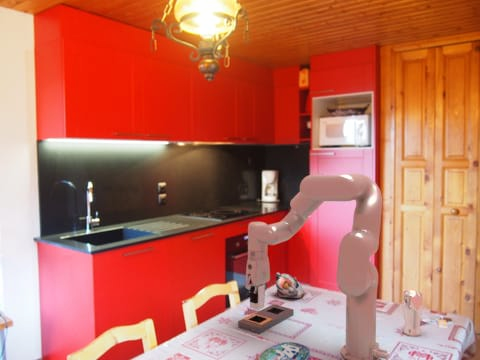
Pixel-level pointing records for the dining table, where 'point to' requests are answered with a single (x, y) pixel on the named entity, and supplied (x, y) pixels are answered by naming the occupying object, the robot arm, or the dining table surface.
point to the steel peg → (259, 298)
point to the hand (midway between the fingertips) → (257, 300)
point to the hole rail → (265, 319)
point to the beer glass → (412, 312)
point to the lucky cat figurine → (288, 286)
